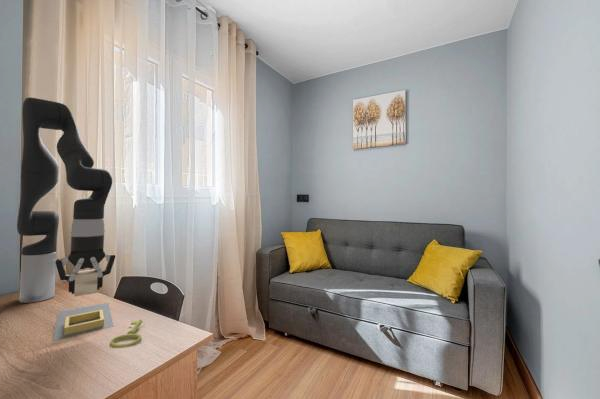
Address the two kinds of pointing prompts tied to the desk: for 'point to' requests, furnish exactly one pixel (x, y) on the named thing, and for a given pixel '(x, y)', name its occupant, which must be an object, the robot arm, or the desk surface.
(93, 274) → the beech block
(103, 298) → the desk surface
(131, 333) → the key
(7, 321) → the desk surface
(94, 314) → the puzzle board
